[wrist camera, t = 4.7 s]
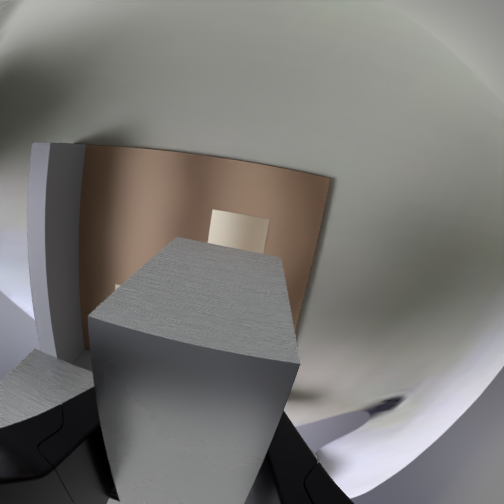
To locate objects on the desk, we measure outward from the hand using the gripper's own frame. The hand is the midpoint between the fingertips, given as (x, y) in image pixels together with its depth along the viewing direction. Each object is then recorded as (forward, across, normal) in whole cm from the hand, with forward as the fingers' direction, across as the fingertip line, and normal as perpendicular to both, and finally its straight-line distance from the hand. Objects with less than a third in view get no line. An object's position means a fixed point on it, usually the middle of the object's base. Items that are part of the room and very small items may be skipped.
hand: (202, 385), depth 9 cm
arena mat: (+11, +4, +2) cm, 12 cm away
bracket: (+1, +3, 0) cm, 3 cm away
